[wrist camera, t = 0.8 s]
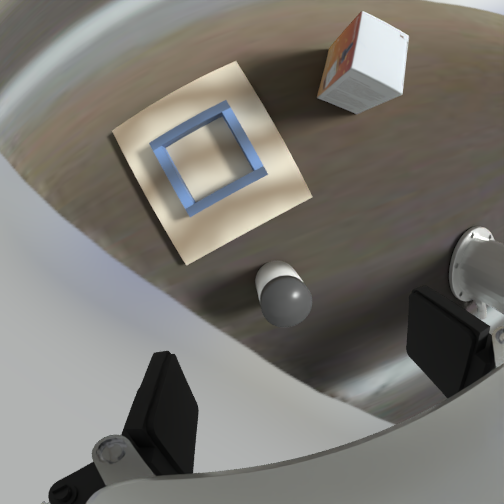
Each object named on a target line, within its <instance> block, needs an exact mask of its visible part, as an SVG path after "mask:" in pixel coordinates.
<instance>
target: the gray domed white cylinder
mask: <svg viewBox="0 0 504 504" xmlns="http://www.w3.org/2000/svg"><path fill="white" fill-rule="evenodd" d="M255 284H256V288H257V292H258V297H259V301H260V305H261V309H262V313H263V315H264V317H265V318H266V320H267V321H268V322H270V323H271V324H273V325H275V326H278V327H291V326H294V325H297V324H299V323H300V322H302V321H303V320H304V319H305V318H306V317H307V316H308V314H309V312H310V310H311V307H312V296H311V293H310V291H309V290H308V288H307V287H306V285H305V284H304V283H303V281H302V280H301V278H300V277H299V276H298V274H297V273H296V271H295V270H294V269H293V267H292V266H291V265H290V264H288V263H286V262H284V261H279V260H275V261H270V262H268V263H266V264H264V265H263V266H262V267H261V268H260V269H259V271H258V272H257V275H256V279H255Z"/></svg>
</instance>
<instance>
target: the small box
mask: <svg viewBox="0 0 504 504" xmlns="http://www.w3.org/2000/svg"><path fill="white" fill-rule="evenodd" d="M408 41H409V36H408V35H407V34H405V33H403V32H402V31H400V30H398V29H396V28H395V27H393V26H391V25H389V24H387V23H386V22H384V21H382V20H380V19H378V18H376V17H374V16H372V15H370V14H368V13H366V12H364V11H361V12H360V13H359V14H358V16H357V17H356V18H355V19H354V20H353V21H352V22H351V23H350V24H349V26H348V27H347V28H346V29H345V30H344V31H343V32H342V34H341V35H340V36H339V37H338V38H337V39H336V41H335V42H334V43H333V44H332V45H331V47H330V48H329V50H328V56H327V60H326V64H325V68H324V72H323V75H322V79H321V83H320V87H319V91H318V94H317V98H318V99H321V100H323V101H326V102H328V103H331V104H333V105H336V106H338V107H341V108H343V109H346V110H348V111H350V112H353V113H355V114H359V113H361V112H363V111H365V110H368V109H370V108H372V107H374V106H377V105H379V104H381V103H384V102H386V101H388V100H391V99H393V98H396V97H398V96H400V95H402V94H403V83H404V74H405V66H406V56H407V47H408Z"/></svg>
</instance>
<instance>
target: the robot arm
mask: <svg viewBox="0 0 504 504" xmlns="http://www.w3.org/2000/svg"><path fill="white" fill-rule="evenodd" d="M449 284H450V288H451V291H452V293H453V294H454V295H455V297H457V298H458V299H460V300H462V301H471V300H474V301H475V304H476V305H477V317H478V318H479V319H478V318H477V317H475V316H474V315H472V314H471V313H469V312H468V311H466V310H465V309H463V308H461V307H460V306H458V305H457V304H455V303H453V302H452V301H450V300H449V299H447V298H445V297H444V296H442V295H441V294H439V293H437V292H436V291H434V290H432V289H431V288H429V287H427V286H422V287H419V288H416V289H414V290H413V291H412V294H410V296H409V315H408V333H407V346H406V350H407V354H408V355H409V357H410V358H411V359H412V360H413V361H414V362H415V363H416V364H417V365H418V366H419V367H420V368H421V370H422V371H423V372H424V373H425V374H426V375H427V376H428V377H429V378H430V379H431V380H432V382H433V383H434V384H435V385H436V386H437V387H438V388H439V389H440V390H441V391H442V393H443V394H444V395H445V396H446V397H447V398H448V399H446V400H444V401H443V402H441V403H439V404H437V405H435V406H434V407H432V408H430V409H428V410H426V411H424V412H422V413H420V414H418V415H416V416H414V417H412V418H410V419H408V420H405V421H403V422H401V423H399V424H397V425H394V426H392V427H390V428H388V429H385V430H383V431H381V432H378V433H375V434H373V435H370V436H367V437H365V438H362V439H360V440H357V441H354V442H351V443H348V444H345V445H342V446H339V447H336V448H332V449H329V450H326V451H322V452H319V453H315V454H312V455H308V456H304V457H300V458H296V459H291V460H287V461H282V462H278V463H273V464H268V465H261V466H255V467H249V468H242V469H234V470H226V471H218V472H208V473H193V466H194V454H195V443H196V432H197V421H198V405H197V402H196V400H195V398H194V396H193V394H192V392H191V389H190V387H189V385H188V383H187V381H186V378H185V376H184V374H183V371H182V369H181V367H180V365H179V362H178V360H177V357H176V355H175V354H171V353H170V352H169V351H163V352H156V353H154V354H153V356H152V358H151V361H150V363H149V366H148V368H147V371H146V373H145V376H144V379H143V381H142V384H141V386H140V388H139V389H138V391H137V394H136V396H135V399H134V401H133V404H132V407H131V410H130V412H129V415H128V418H127V421H126V423H125V426H124V429H123V432H122V435H110V436H107V437H104V438H103V439H101V440H100V441H98V443H97V444H96V445H95V446H94V448H93V450H92V458H93V461H94V462H92V463H90V464H89V465H87V466H85V467H84V468H81V469H80V470H78V471H76V472H74V473H72V474H71V475H69V476H67V477H65V478H63V479H61V480H59V481H57V482H56V483H55V484H53V486H52V487H51V488H50V491H49V502H48V503H46V502H45V501H44V502H42V503H41V504H504V326H501V327H498V328H496V329H495V330H494V331H493V333H492V335H491V334H489V330H490V326H489V325H487V324H486V323H484V322H483V321H481V320H480V319H484V318H486V316H487V311H486V304H487V305H489V306H491V307H492V308H494V309H496V310H497V311H499V312H501V313H502V314H504V244H503V243H500V242H497V241H494V238H493V236H492V234H491V232H490V231H489V230H488V229H486V228H484V227H480V226H475V227H472V228H470V229H469V230H467V231H466V232H465V233H464V234H463V235H462V237H461V238H460V240H459V241H458V243H457V245H456V247H455V249H454V252H453V255H452V258H451V262H450V268H449Z"/></svg>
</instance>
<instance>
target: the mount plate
mask: <svg viewBox="0 0 504 504" xmlns="http://www.w3.org/2000/svg"><path fill="white" fill-rule="evenodd" d="M112 132H113V134H114V136H115V138H116V140H117V142H118V144H119V146H120V148H121V150H122V152H123V154H124V156H125V157H126V159H127V161H128V163H129V165H130V167H131V169H132V171H133V173H134V175H135V177H136V178H137V180H138V182H139V184H140V186H141V188H142V190H143V191H144V193H145V195H146V197H147V199H148V201H149V202H150V204H151V206H152V208H153V210H154V211H155V213H156V215H157V217H158V218H159V220H160V222H161V224H162V225H163V227H164V229H165V230H166V232H167V234H168V236H169V237H170V239H171V241H172V242H173V244H174V246H175V247H176V249H177V251H178V252H179V254H180V256H181V257H182V259H183V261H184V262H185V264H186V265H188V264H190V263H192V262H194V261H195V260H197V259H199V258H201V257H203V256H204V255H206V254H208V253H210V252H212V251H213V250H215V249H217V248H219V247H221V246H222V245H224V244H226V243H228V242H230V241H232V240H233V239H235V238H237V237H239V236H241V235H243V234H244V233H246V232H248V231H250V230H252V229H254V228H255V227H257V226H259V225H261V224H263V223H265V222H267V221H268V220H270V219H272V218H274V217H276V216H278V215H280V214H281V213H283V212H285V211H287V210H289V209H291V208H293V207H295V206H297V205H298V204H300V203H302V202H304V201H306V200H308V199H310V198H312V195H311V193H310V191H309V189H308V187H307V185H306V183H305V181H304V179H303V177H302V175H301V173H300V171H299V169H298V167H297V165H296V163H295V162H294V160H293V158H292V156H291V154H290V152H289V150H288V148H287V147H286V145H285V143H284V141H283V139H282V137H281V136H280V134H279V132H278V130H277V128H276V127H275V125H274V123H273V121H272V120H271V118H270V116H269V114H268V113H267V111H266V109H265V107H264V106H263V104H262V102H261V101H260V99H259V97H258V96H257V94H256V92H255V91H254V89H253V87H252V86H251V84H250V83H249V81H248V79H247V78H246V76H245V75H244V73H243V71H242V70H241V68H240V67H239V65H238V64H237V62H236V61H235V62H233V63H230V64H228V65H226V66H224V67H221V68H219V69H217V70H215V71H213V72H211V73H209V74H207V75H204V76H202V77H200V78H198V79H197V80H195V81H193V82H191V83H189V84H187V85H185V86H183V87H181V88H179V89H178V90H176V91H174V92H172V93H171V94H169V95H167V96H165V97H164V98H162V99H160V100H158V101H157V102H155V103H154V104H152V105H150V106H149V107H147V108H145V109H144V110H142V111H141V112H139V113H138V114H136V115H135V116H133V117H132V118H130V119H129V120H127V121H126V122H124V123H123V124H121V125H120V126H118V127H117V128H116V129H114V130H113V131H112Z"/></svg>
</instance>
